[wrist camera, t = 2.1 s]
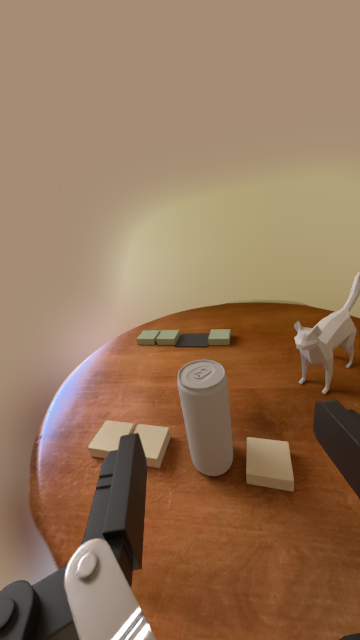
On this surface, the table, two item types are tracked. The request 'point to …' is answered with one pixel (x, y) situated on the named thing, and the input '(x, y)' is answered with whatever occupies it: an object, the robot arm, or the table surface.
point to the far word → (184, 338)
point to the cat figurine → (328, 337)
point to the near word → (261, 458)
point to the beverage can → (206, 415)
